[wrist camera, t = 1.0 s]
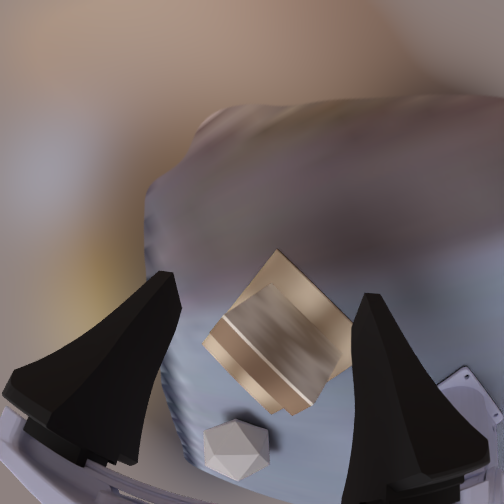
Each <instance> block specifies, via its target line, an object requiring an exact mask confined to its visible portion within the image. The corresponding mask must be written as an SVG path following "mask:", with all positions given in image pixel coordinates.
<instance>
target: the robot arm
mask: <svg viewBox="0 0 504 504" xmlns="http://www.w3.org/2000/svg"><path fill="white" fill-rule="evenodd" d="M181 310H182V306H181V302H180V298H179V294H178V290H177V286H176V282H175V278H174V274H173V272H165V271H158V272H157V273H156V274H155V275H154V276H152V277H151V278H150V279H149V280H148V281H147V282H146V283H145V284H144V285H142V286H141V288H139V289H138V290H137V291H136V292H135V293H134V294H133V295H131V296H130V297H129V298H128V299H127V300H126V301H125V302H124V303H122V304H121V305H120V306H119V307H118V308H117V309H115V310H114V311H113V312H112V313H111V314H109V315H108V316H107V317H106V318H105V319H103V320H102V321H101V322H100V323H98V324H97V325H96V326H94V327H93V328H92V329H90V330H89V331H88V332H86V333H85V334H83V335H82V336H80V337H79V338H77V339H76V340H74V341H72V342H71V343H69V344H67V345H66V346H64V347H63V348H61V349H59V350H57V351H56V352H54V353H52V354H50V355H48V356H46V357H44V358H42V359H40V360H38V361H36V362H33V363H31V364H28V365H26V366H23V367H21V368H18V369H15V370H14V371H13V373H12V375H11V377H10V379H9V381H8V383H7V384H6V386H5V388H4V390H3V392H2V396H3V397H4V398H6V399H7V400H8V401H9V402H10V403H12V404H13V405H14V406H16V407H17V408H18V409H20V410H21V411H22V412H23V413H25V414H26V415H28V416H29V417H28V419H27V420H25V419H24V418H23V417H21V416H20V415H19V414H17V413H16V412H15V411H13V410H12V409H11V408H9V407H8V406H5V409H4V411H3V413H2V415H1V417H0V461H1V462H2V463H3V464H4V465H5V466H6V467H7V468H8V469H9V470H10V471H11V472H12V473H13V474H14V475H15V476H16V477H17V478H18V480H19V481H20V482H21V483H22V484H23V485H24V486H25V487H26V488H27V489H28V490H29V491H30V492H31V493H32V494H33V495H34V496H35V497H36V498H37V499H38V500H39V501H40V502H41V503H42V504H149V503H146V502H144V501H142V500H138V499H136V498H133V497H129V496H125V495H122V494H120V493H119V491H118V489H119V490H121V491H124V492H126V493H128V494H131V495H133V496H136V497H138V498H141V499H144V500H147V501H149V502H152V503H155V504H216V503H211V502H206V501H202V500H198V499H194V498H190V497H186V496H183V495H179V494H176V493H172V492H169V491H166V490H163V489H160V488H157V487H153V486H151V485H148V484H145V483H142V482H140V481H137V480H135V479H132V478H130V477H127V476H124V475H122V474H120V473H118V472H115V471H113V470H111V469H108V468H106V465H107V463H108V462H109V463H111V464H113V465H116V463H117V461H120V462H122V463H124V464H127V465H129V466H132V465H134V464H136V463H138V454H139V447H140V439H141V433H142V428H143V423H144V418H145V414H146V409H147V405H148V401H149V398H150V394H151V390H152V387H153V384H154V380H155V378H156V375H157V373H158V370H159V368H160V366H161V363H162V361H163V359H164V356H165V354H166V352H167V349H168V347H169V345H170V342H171V340H172V338H173V335H174V333H175V330H176V327H177V324H178V321H179V317H180V313H181ZM351 358H352V370H353V381H354V395H355V419H354V432H353V442H352V450H351V457H350V463H349V469H348V474H347V479H346V483H345V487H344V491H343V495H342V501H341V504H504V472H503V470H501V469H499V468H498V443H497V431H496V424H498V423H499V422H501V421H502V420H503V414H502V413H501V411H500V410H499V408H498V407H497V405H496V404H495V403H494V401H493V400H492V398H491V397H490V396H489V394H488V393H487V392H486V390H485V389H484V388H483V386H482V385H481V384H480V382H479V381H478V380H477V378H476V377H475V376H474V374H473V373H472V372H471V371H470V369H469V368H468V367H463V368H461V369H460V370H458V371H457V372H456V373H454V374H453V375H452V376H450V377H449V378H447V379H446V380H444V381H443V382H442V383H440V384H439V385H436V384H435V383H434V381H433V380H432V379H431V377H430V376H429V374H428V373H427V372H426V370H425V369H424V367H423V366H422V364H421V363H420V361H419V360H418V358H417V356H416V355H415V353H414V352H413V350H412V348H411V347H410V345H409V344H408V342H407V340H406V338H405V337H404V335H403V333H402V332H401V330H400V328H399V326H398V325H397V323H396V321H395V319H394V318H393V316H392V314H391V312H390V311H389V309H388V307H387V305H386V303H385V302H384V300H383V298H382V296H381V295H380V294H374V293H364V296H363V299H362V301H361V304H360V307H359V309H358V312H357V314H356V317H355V319H354V322H353V324H352V327H351ZM465 375H468V376H467V377H465ZM496 413H497V414H496Z"/></svg>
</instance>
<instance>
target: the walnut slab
mask: <svg viewBox="0 0 504 504" xmlns="http://www.w3.org/2000/svg"><path fill="white" fill-rule="evenodd" d="M210 334H211V335H212V336H213V337H214V338H215V340H216V341H217V342H218V343H219V344H220V345H221V346H222V347H223V348H224V349H225V350H226V351H227V352H228V353H229V355H230V356H231V357H232V358H233V359H234V360H235V361H236V362H237V363H238V364H239V365H240V366H241V367H242V368H243V369H244V370H245V371H246V372H247V373H248V374H249V375H250V376H251V377H252V378H253V379H254V380H255V381H256V382H257V383H258V384H259V385H260V386H261V387H262V388H263V389H264V390H265V391H266V392H267V393H268V394H269V395H270V396H271V397H272V398H273V399H274V400H276V401H277V402H278V403H279V404H280V405H281V406H282V407H283V408H284V409H285V410H286V411H287V412H288V413H290V414H291V415H292V416H293V415H295V414H297V413H299V412H301V411H303V410H304V409H306V408H308V407H310V406H312V405H314V403H315V402H316V400H317V398H318V397H319V395H320V393H321V391H322V390H323V388H324V386H325V384H326V383H327V381H328V379H329V377H330V376H331V374H332V372H333V370H334V368H335V366H336V365H337V363H338V361H339V359H340V357H341V355H342V352H341V351H340V350H339V349H338V348H337V347H336V346H334V345H333V344H332V343H331V342H330V341H329V340H328V339H327V338H326V337H325V336H324V335H323V334H322V333H321V332H320V331H319V330H318V329H317V328H316V327H315V326H314V325H313V324H312V323H311V322H310V321H309V320H308V319H307V318H306V317H305V316H304V315H303V314H302V313H301V312H300V311H299V310H298V309H297V308H296V307H295V306H294V305H293V304H292V303H291V302H290V301H289V300H288V299H287V298H286V297H285V296H284V295H283V294H282V293H281V292H280V291H279V290H278V289H277V288H276V287H275V286H274V285H273V284H272V283H271V284H269V285H268V286H266V287H265V288H263V289H262V290H260V291H259V292H257V293H256V294H254V295H253V296H251V297H250V298H248V299H247V300H245V301H244V302H242V303H241V304H239V305H238V306H236V307H235V308H233V309H232V310H230V311H229V312H227V313H226V314H224V315H223V316H222V318H221V319H220V320H219V321H218V323H217V324H216V325H215V326H214V328H213V329H212V330H211V331H210Z"/></svg>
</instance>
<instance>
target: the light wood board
mask: <svg viewBox="0 0 504 504" xmlns="http://www.w3.org/2000/svg"><path fill="white" fill-rule="evenodd" d="M271 283H272V284H273V285H274V286H275V287H276V288H277V289H278V290H279V291H280V292H281V293H282V294H283V295H284V296H285V297H286V298H287V299H288V300H289V301H290V302H291V303H292V304H293V305H294V306H295V307H296V308H297V309H298V310H299V311H300V312H301V313H302V314H303V315H304V316H305V317H306V318H307V319H308V320H309V321H310V322H311V323H312V324H313V325H314V326H315V327H316V328H317V329H318V330H319V331H320V332H321V333H322V334H323V335H324V336H325V337H326V338H327V339H328V340H329V341H330V342H331V343H332V344H333V345H334V346H336V347H337V348H338V349H339V350H340V351H341V352H342V355H341V357H340V359H339V361H338V363H337V365H336V366H335V368H334V370H333V372H332V374H331V376H330V377H329V379H328V381H329V380H331V379H332V378H334V377H335V376H337V375H338V374H340V373H341V372H343V371H344V370H346V369H347V368H349V367H350V366H352V358H351V327H352V324H353V323H352V322H351V321H350V320H349V319H348V318H347V317H346V316H345V315H344V314H343V313H342V312H341V311H340V310H339V309H338V308H337V307H336V306H335V305H334V304H333V303H332V302H331V301H330V300H329V299H328V298H327V297H326V296H325V295H324V294H323V293H322V292H321V291H320V290H319V289H318V288H317V287H316V286H315V285H314V284H313V283H312V282H311V281H310V280H309V279H308V278H307V277H306V276H305V275H304V274H303V273H302V272H301V271H300V270H299V269H298V268H297V267H296V266H295V265H294V264H293V263H292V262H291V261H289V260H288V259H287V258H286V257H285V256H284V255H283V254H282V253H281V252H280V251H279V250H278V249H277V250H276V251H275V252H274V253H273V255H272V256H271V257H270V259H269V260H268V261H267V262H266V264H265V265H264V266H263V268H262V269H261V270H260V271H259V273H258V274H257V275H256V276H255V278H254V279H253V280H252V282H251V283H250V284H249V285H248V287H247V288H246V289H245V290H244V292H243V293H242V294H241V295H240V297H239V298H238V299H237V300H236V302H235V303H234V304H233V305H232V307H231V308H230V309H229V310H228V312H229V311H230V310H232V309H233V308H235V307H236V306H238V305H239V304H241V303H242V302H244V301H245V300H247V299H248V298H250V297H251V296H253V295H254V294H256V293H257V292H259V291H260V290H262V289H263V288H265V287H266V286H268V285H269V284H271ZM202 345H203V346H204V347H205V348H206V349H207V350H208V351H209V352H210V353H211V354H212V356H213V357H214V358H215V359H216V360H217V361H218V362H219V363H220V364H221V365H222V366H223V367H224V368H225V369H226V370H227V371H228V372H229V374H230V375H231V376H232V377H233V378H234V379H235V380H236V381H237V382H238V383H239V384H240V385H241V386H242V387H243V388H244V389H245V390H246V391H247V392H248V393H249V394H250V395H251V396H252V397H253V398H254V399H255V400H257V401H258V402H259V403H260V404H261V405H262V406H263V407H264V408H265V409H266V410H267V411H268V412H269V413H270V414H271V415H272V414H274V413H275V412H277V411H279V410H281V409H283V407H282V406H281V405H280V404H279V403H278V402H277V401H276V400H274V399H273V398H272V397H271V396H270V395H269V394H268V393H267V392H266V391H265V390H264V389H263V388H262V387H261V386H260V385H259V384H258V383H257V382H256V381H255V380H254V379H253V378H252V377H251V376H250V375H249V374H248V373H247V372H246V371H245V370H244V369H243V368H242V367H241V366H240V365H239V364H238V363H237V362H236V361H235V360H234V359H233V358H232V357H231V356H230V355H229V353H228V352H227V351H226V350H225V349H224V348H223V347H222V346H221V345H220V344H219V343H218V342H217V341H216V340H215V338H214V337H213V336H212V335H211V334H209V335H208V337H207V338H206V339H205V340H204V342H203V343H202ZM328 381H327V382H328Z"/></svg>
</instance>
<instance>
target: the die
mask: <svg viewBox="0 0 504 504" xmlns="http://www.w3.org/2000/svg"><path fill="white" fill-rule="evenodd" d="M204 453H205V466H207V467H209V468H211V469H213V470H215V471H217V472H219V473H221V474H223V475H225V476H227V477H229V478H231V479H234V480H236V481H240V480H242V479H244V478H246V477H248V476H250V475H252V474H254V473H255V472H257V471H259V470H261V469H263V468H265V467H266V466H268V465H270V457H269V434H268V430H267V429H264V428H261V427H258V426H255V425H252V424H249V423H247V422H244V421H241V420H238V419H236V418H235V419H233V420H231V421H228V422H226V423H223V424H221V425H218V426H215V427H213V428H210V429H207V430H205V431H204Z"/></svg>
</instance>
